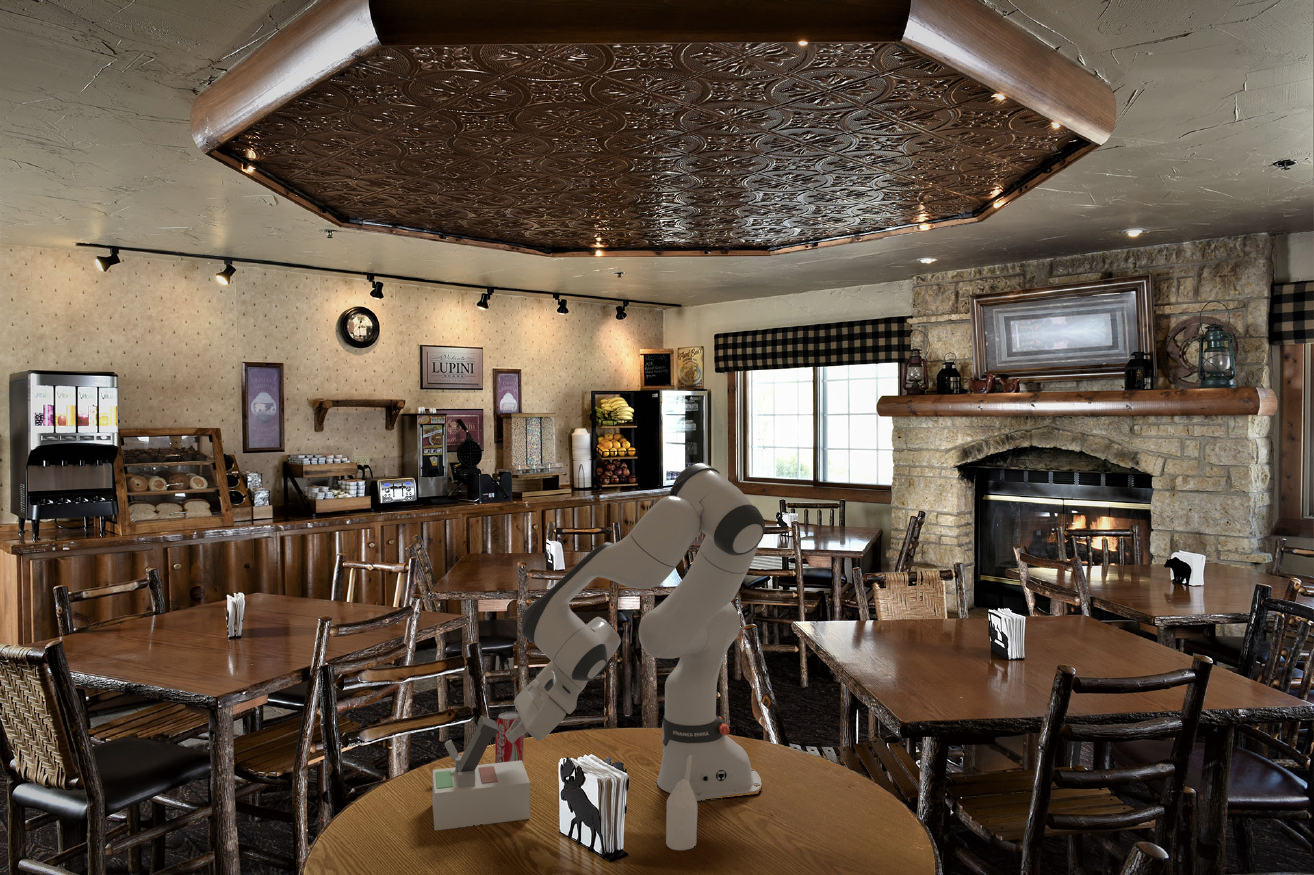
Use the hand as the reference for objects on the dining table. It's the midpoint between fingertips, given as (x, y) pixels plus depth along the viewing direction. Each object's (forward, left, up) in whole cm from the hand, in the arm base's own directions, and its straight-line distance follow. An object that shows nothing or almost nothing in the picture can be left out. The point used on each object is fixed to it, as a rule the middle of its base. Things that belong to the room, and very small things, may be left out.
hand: (508, 739), depth 166 cm
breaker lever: (+9, +2, -6) cm, 11 cm away
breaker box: (+5, +1, -14) cm, 15 cm away
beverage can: (+2, -21, -14) cm, 25 cm away
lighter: (+12, -17, -14) cm, 25 cm away
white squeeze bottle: (-34, +16, -14) cm, 40 cm away
